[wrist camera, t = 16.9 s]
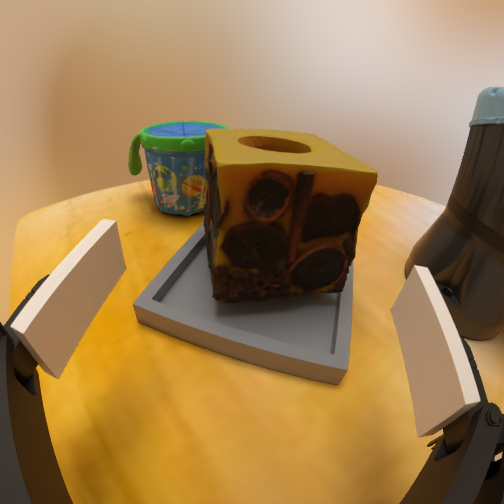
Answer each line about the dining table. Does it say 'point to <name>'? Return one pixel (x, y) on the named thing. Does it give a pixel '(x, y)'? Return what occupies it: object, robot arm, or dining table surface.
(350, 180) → the candle
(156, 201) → the snack cup
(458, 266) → the robot arm
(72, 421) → the dining table surface
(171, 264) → the tray
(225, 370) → the dining table surface
